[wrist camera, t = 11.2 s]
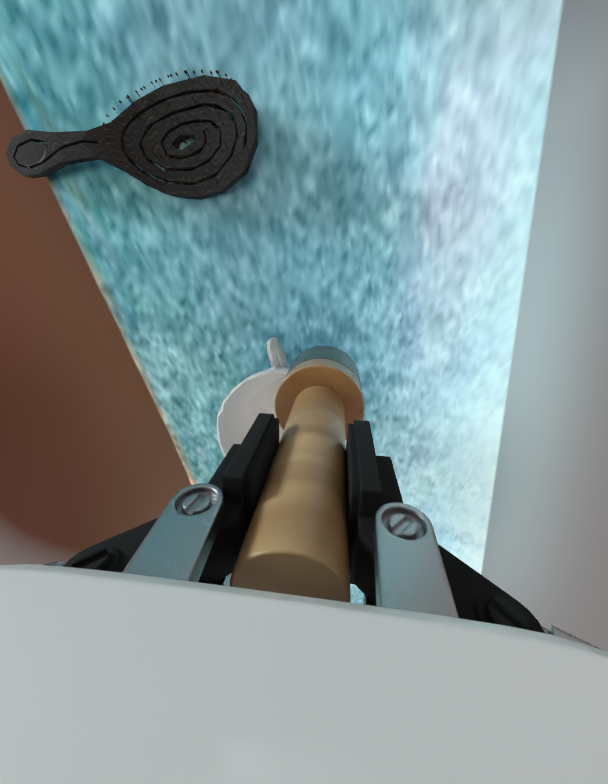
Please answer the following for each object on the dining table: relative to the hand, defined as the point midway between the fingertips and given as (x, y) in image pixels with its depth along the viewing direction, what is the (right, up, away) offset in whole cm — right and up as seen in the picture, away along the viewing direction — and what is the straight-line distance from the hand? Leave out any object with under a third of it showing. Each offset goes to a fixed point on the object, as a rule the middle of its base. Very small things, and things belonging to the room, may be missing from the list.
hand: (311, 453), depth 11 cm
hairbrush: (-16, +25, +16) cm, 34 cm away
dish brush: (+1, +3, +8) cm, 9 cm away
